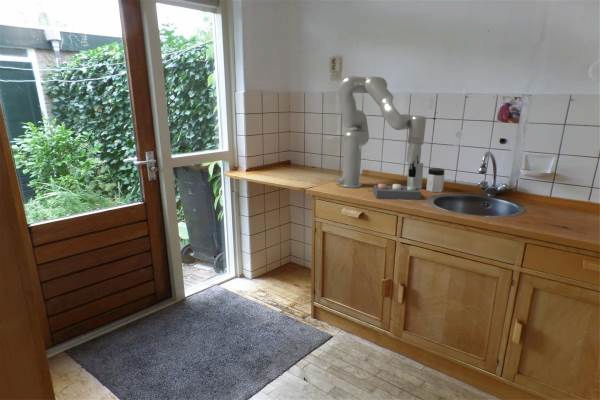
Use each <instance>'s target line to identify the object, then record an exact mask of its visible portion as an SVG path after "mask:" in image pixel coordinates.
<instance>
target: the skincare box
mask: <svg viewBox="0 0 600 400" xmlns="http://www.w3.org/2000/svg"><path fill="white" fill-rule="evenodd" d="M409 165H410V164H409V163H408V162H407V178H406V180H407V181H406V186H415V187H416V188H417V189H418V190H422V189H423V188H422V187H423V176H424V175H423V172H424V163H423V162H421V161H420V163H419V164H417V167H416V175H415V177H409V176H408V175H409Z"/></svg>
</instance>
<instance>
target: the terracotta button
mask: <svg viewBox="0 0 600 400" xmlns="http://www.w3.org/2000/svg"><path fill="white" fill-rule="evenodd" d="M377 185H378V189H386V188H387V186H388V185H387V184H386V183H378V184H377Z"/></svg>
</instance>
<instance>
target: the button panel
mask: <svg viewBox="0 0 600 400" xmlns="http://www.w3.org/2000/svg"><path fill="white" fill-rule="evenodd" d="M392 187H393V185H387V188H386V189H378V184H377V185H375V184H373V195H374V197H375V198H376V199H382V200H383V199H385V200H415V201H416V200H417V201H418V200H419V201H420V200H421V197H422V191H421V190H420V189H417V188H416V190H407V185H405V186H404V185H401V190H392Z"/></svg>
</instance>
